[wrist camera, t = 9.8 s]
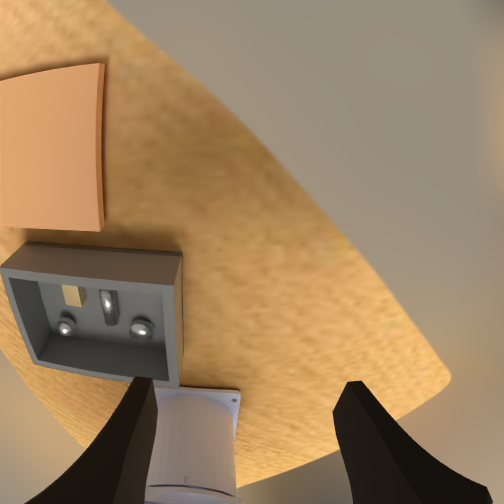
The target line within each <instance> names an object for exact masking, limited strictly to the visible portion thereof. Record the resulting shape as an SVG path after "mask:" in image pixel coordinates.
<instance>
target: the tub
mask: <svg viewBox="0 0 504 504" xmlns="http://www.w3.org/2000/svg"><path fill="white" fill-rule="evenodd" d="M0 273H1V276H2V280H3V283H4V286H5V290H6V293H7V296H8V299H9V302H10V305H11V308H12V311H13V314H14V317H15V319H16V322H17V325H18V327H19V330H20V333H21V335H22V338H23V340H24V343H25V345H26V347H27V350H28V352H29V354H30V357H31V359H32V361H33V363H34V364H36V365H40V366H44V367H48V368H52V369H57V370H61V371H66V372H71V373H76V374H81V375H86V376H92V377H97V378H103V379H109V380H116V381H122V382H129V383H131V382H132V380H133V378H134V377H136V376H139V377H147V378H153V384H154V386H163V387H173V388H179V386H180V377H181V369H182V362H183V354H184V341H183V297H182V253H180V252H166V251H151V250H137V249H123V248H108V247H94V246H81V245H67V244H53V243H40V242H25V243H24V244H23V245H22V246H21V247H20V248H19V249H18V250H17V251H16V252H15V253H13V254H12V255H11V256H10V257H9V258H8V259H7V260H6V261H5V262H4V263H3V264H2V265H1V266H0Z"/></svg>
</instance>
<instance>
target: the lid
mask: <svg viewBox="0 0 504 504" xmlns="http://www.w3.org/2000/svg"><path fill="white" fill-rule="evenodd" d="M104 70H105V64H102V63H95V64H86V65H78V66H71V67H65V68H58V69H53V70H47V71H42V72H37V73H32V74H27V75H23V76H18V77H14V78H10V79H6V80H2V81H0V227H14V228H36V229H57V230H77V231H97V232H100V231H101V230H102V229H103V227H104V226H105V223H104V209H103V192H102V163H101V127H102V99H103V83H104Z"/></svg>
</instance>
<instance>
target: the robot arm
mask: <svg viewBox="0 0 504 504" xmlns="http://www.w3.org/2000/svg"><path fill="white" fill-rule="evenodd" d="M240 400H241V392H240V391H237V390H221V389H202V388H188V387H179V388H173V387H163V386H154V384H153V378H147V377H139V376H136V377H134V378H133V380H132V382H131V384H130V386H129V388H128V390H127V391H126V393H125V395H124V397H123V398H122V400H121V402H120V403H119V405H118V406H117V408H116V410H115V411H114V413H113V414H112V416H111V417H110V419H109V420H108V422H107V423H106V425H105V426H104V427H103V429H102V430H101V431H100V433H99V434H98V435H97V437H96V438H95V439H94V441H93V442H92V443H91V444H90V446H89V447H88V448H87V449H86V450H85V452H84V453H83V454H82V455H81V456H80V457H79V458H78V459H77V460H76V461H75V462H74V463H73V465H72V466H70V467H69V468H68V469H67V471H65V472H64V473H63V474H62V475H61V476H60V477H59V478H58V479H57V480H55V481H54V482H53V483H52V484H51V485H49V486H48V487H47V488H46V489H45V490H43V491H42V492H41V493H39V494H38V495H37V496H35V497H33V498H32V499H30V500H29V501H28V502H26V503H25V504H245V503H244V498H237V494H236V493H237V492H236V472H235V450H234V440H235V433H236V427H237V420H238V413H239V407H240ZM333 419H334V426H335V432H336V436H337V440H338V443H339V447H340V450H341V454H342V457H343V460H344V463H345V467H346V471H347V474H348V477H349V481H350V486H351V491H352V498H353V504H492V503H493V501H492V498H491V496H490V493H489V491H488V490H487V487H486V486H483V485H481V484H479V483H476V482H474V481H472V480H470V479H468V478H466V477H464V476H462V475H460V474H458V473H457V472H455V471H453V470H452V469H450V468H449V467H447V466H446V465H444V464H442V463H441V462H440V461H438V460H437V459H435V458H434V457H433V456H432V455H430V454H429V453H428V452H427V451H426V450H424V449H423V448H422V447H421V446H420V445H419V444H417V443H416V442H415V441H414V440H413V439H412V438H411V437H410V436H409V435H408V434H407V433H406V432H405V431H404V430H403V429H402V428H401V427H400V426H399V425H398V423H397V422H396V421H395V420H394V419H393V418H392V417H391V415H390V414H389V413H388V412H387V411H386V410H385V409H384V407H383V406H382V405H381V404H380V402H379V401H378V400H377V399H376V398H375V396H374V395H373V394H372V393H371V392H370V390H369V389H368V388H367V387H366V385H365V384H364V383H363V382H362V381H351V382H347V384H346V386H345V388H344V390H343V392H342V394H341V396H340V398H339V400H338V402H337V404H336V406H335V408H334V410H333Z"/></svg>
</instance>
